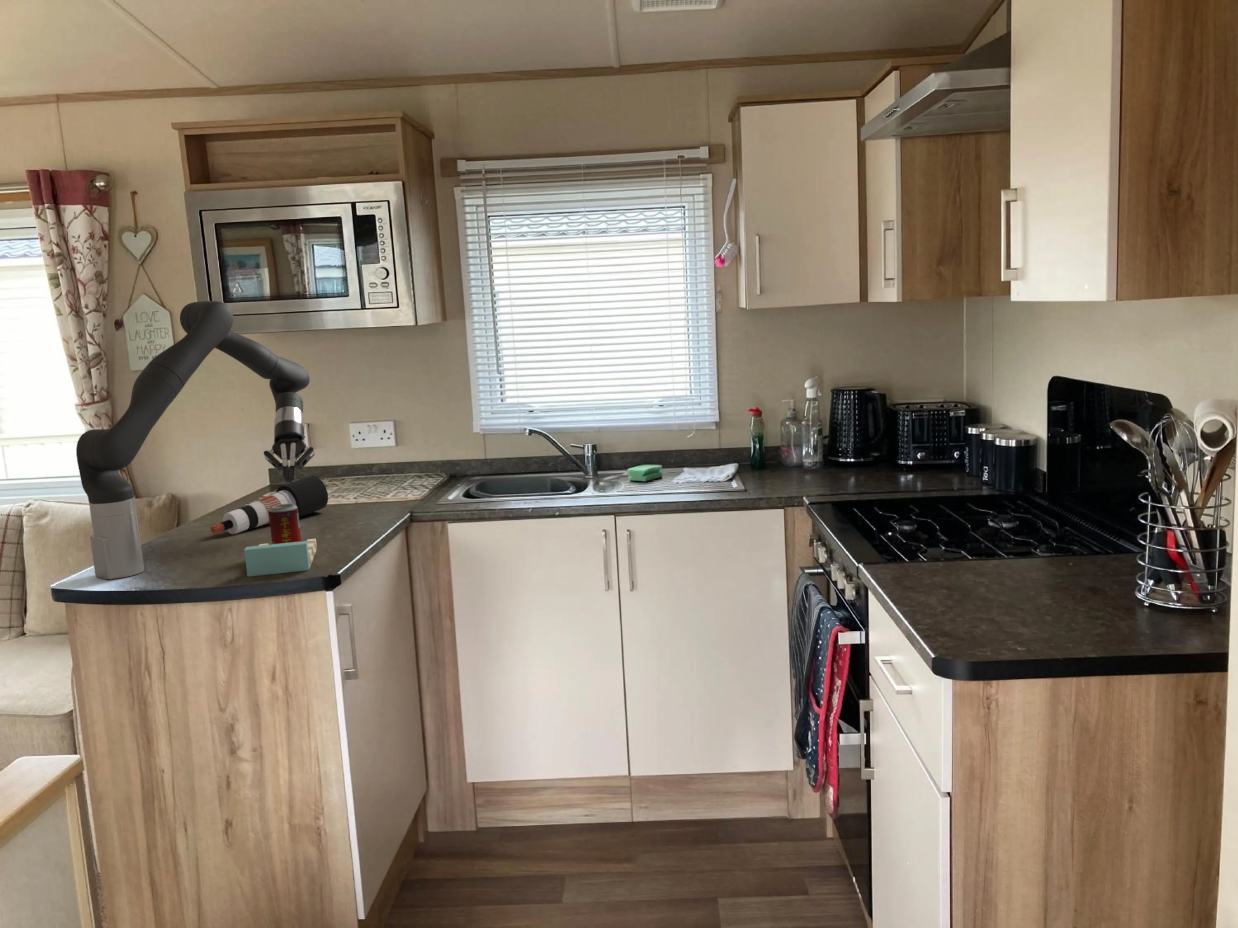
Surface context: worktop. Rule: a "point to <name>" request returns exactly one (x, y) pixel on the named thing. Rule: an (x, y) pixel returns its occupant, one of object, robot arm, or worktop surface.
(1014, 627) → the worktop surface
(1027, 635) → the worktop surface
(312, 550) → the guide rails
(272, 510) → the soda can
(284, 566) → the block
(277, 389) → the robot arm
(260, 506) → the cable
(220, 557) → the worktop surface
